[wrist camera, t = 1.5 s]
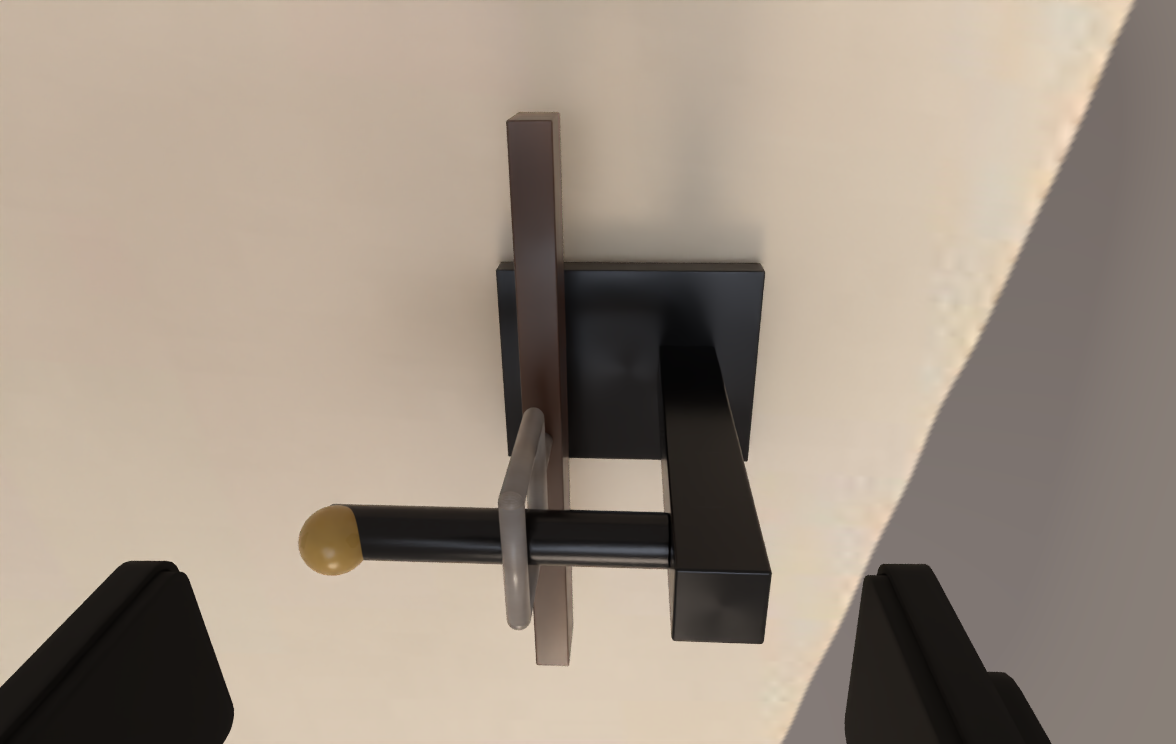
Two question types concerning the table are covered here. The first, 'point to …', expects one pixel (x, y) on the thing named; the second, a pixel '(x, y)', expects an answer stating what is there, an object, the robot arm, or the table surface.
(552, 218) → the hanger
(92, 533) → the table surface
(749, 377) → the coat stand
